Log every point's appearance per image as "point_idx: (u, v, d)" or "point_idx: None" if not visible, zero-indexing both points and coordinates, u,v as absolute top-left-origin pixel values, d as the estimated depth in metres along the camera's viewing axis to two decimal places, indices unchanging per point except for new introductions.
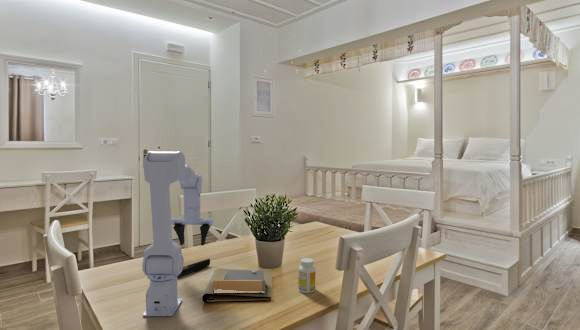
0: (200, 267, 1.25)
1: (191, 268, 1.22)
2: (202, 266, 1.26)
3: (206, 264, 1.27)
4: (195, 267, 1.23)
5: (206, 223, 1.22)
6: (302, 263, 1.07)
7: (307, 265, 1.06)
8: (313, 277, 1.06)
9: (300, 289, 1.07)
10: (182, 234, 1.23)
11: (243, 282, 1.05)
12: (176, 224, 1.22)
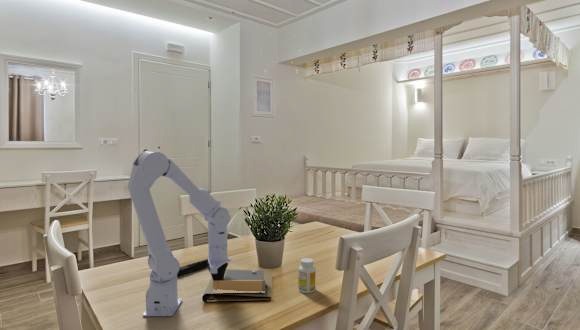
0: (200, 267, 1.25)
1: (191, 268, 1.22)
2: (202, 266, 1.26)
3: (206, 264, 1.27)
4: (195, 267, 1.23)
5: None
6: (302, 263, 1.07)
7: (307, 265, 1.06)
8: (313, 277, 1.06)
9: (300, 289, 1.07)
10: None
11: (243, 282, 1.05)
12: None
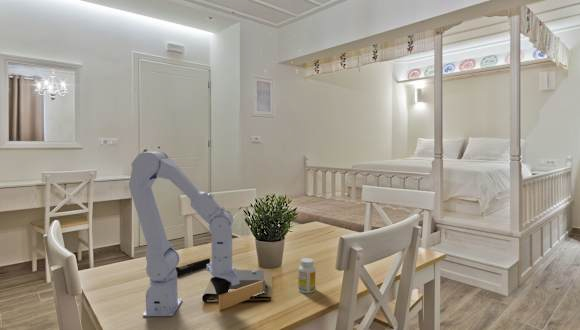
0: (199, 267, 1.25)
1: (190, 267, 1.22)
2: (201, 266, 1.26)
3: None
4: (194, 266, 1.24)
5: None
6: (302, 263, 1.07)
7: (307, 265, 1.06)
8: (313, 277, 1.06)
9: (300, 289, 1.07)
10: (222, 289, 0.97)
11: (247, 287, 1.01)
12: None
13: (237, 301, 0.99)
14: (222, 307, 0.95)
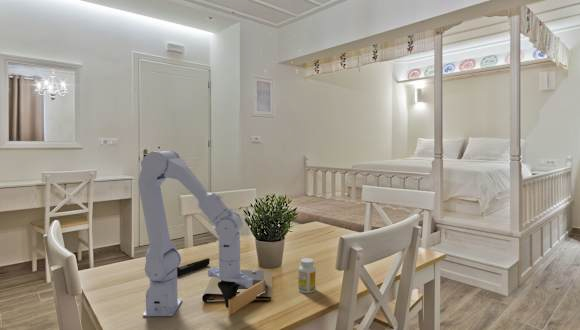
0: (199, 266, 1.25)
1: (190, 267, 1.23)
2: (201, 265, 1.26)
3: (205, 263, 1.28)
4: (194, 266, 1.24)
5: None
6: (302, 263, 1.07)
7: (307, 265, 1.06)
8: (313, 277, 1.06)
9: (300, 289, 1.07)
10: (230, 294, 0.94)
11: (251, 289, 1.00)
12: None
13: (244, 304, 0.97)
14: (232, 312, 0.93)
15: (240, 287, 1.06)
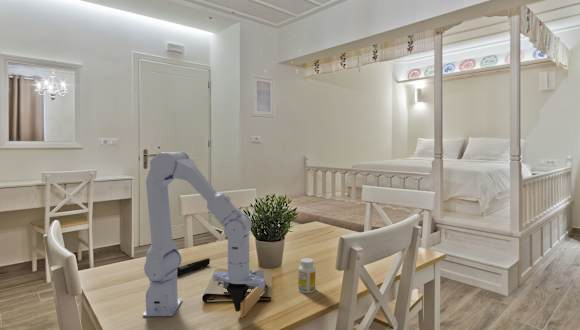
0: (199, 266, 1.25)
1: (190, 267, 1.23)
2: (201, 265, 1.26)
3: (205, 263, 1.28)
4: (194, 266, 1.24)
5: None
6: (302, 263, 1.07)
7: (307, 265, 1.06)
8: (313, 277, 1.06)
9: (300, 289, 1.07)
10: None
11: (256, 290, 0.99)
12: (231, 283, 0.92)
13: (251, 305, 0.96)
14: (244, 314, 0.91)
15: None
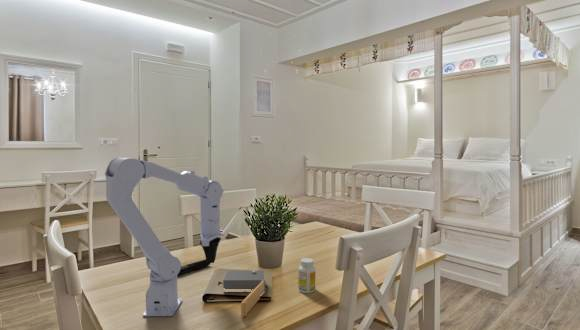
0: (200, 266, 1.25)
1: (190, 267, 1.23)
2: (202, 266, 1.26)
3: (206, 264, 1.28)
4: (195, 266, 1.24)
5: None
6: (302, 263, 1.07)
7: (307, 265, 1.06)
8: (313, 277, 1.06)
9: (300, 289, 1.07)
10: None
11: (256, 290, 0.99)
12: None
13: (251, 305, 0.96)
14: (244, 314, 0.91)
15: (240, 287, 1.06)
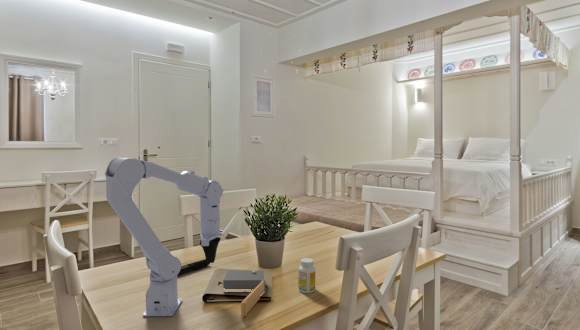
0: (199, 266, 1.25)
1: (190, 267, 1.23)
2: (202, 265, 1.26)
3: (206, 263, 1.28)
4: (194, 266, 1.24)
5: None
6: (302, 263, 1.07)
7: (307, 265, 1.06)
8: (313, 277, 1.06)
9: (300, 289, 1.07)
10: None
11: (256, 290, 0.99)
12: None
13: (251, 305, 0.96)
14: (244, 314, 0.91)
15: (240, 287, 1.06)
